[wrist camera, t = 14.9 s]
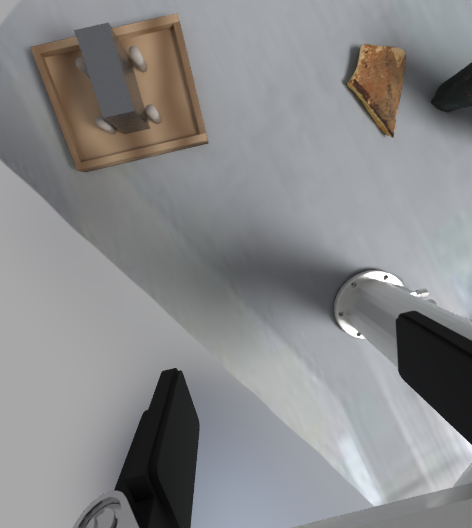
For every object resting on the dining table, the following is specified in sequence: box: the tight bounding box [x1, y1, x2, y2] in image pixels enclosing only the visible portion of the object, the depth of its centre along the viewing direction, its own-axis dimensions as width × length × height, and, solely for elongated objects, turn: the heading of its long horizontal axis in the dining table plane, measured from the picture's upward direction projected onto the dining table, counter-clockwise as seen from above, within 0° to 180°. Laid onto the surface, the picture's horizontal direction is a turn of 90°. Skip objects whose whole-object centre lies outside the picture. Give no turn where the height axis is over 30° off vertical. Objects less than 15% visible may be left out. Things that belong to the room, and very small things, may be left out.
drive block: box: [74, 23, 151, 134], centre depth 27 cm, size 4×8×6 cm, turn 13°
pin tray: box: [30, 13, 208, 172], centre depth 29 cm, size 18×14×4 cm
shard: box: [347, 44, 406, 137], centre depth 33 cm, size 11×8×2 cm
